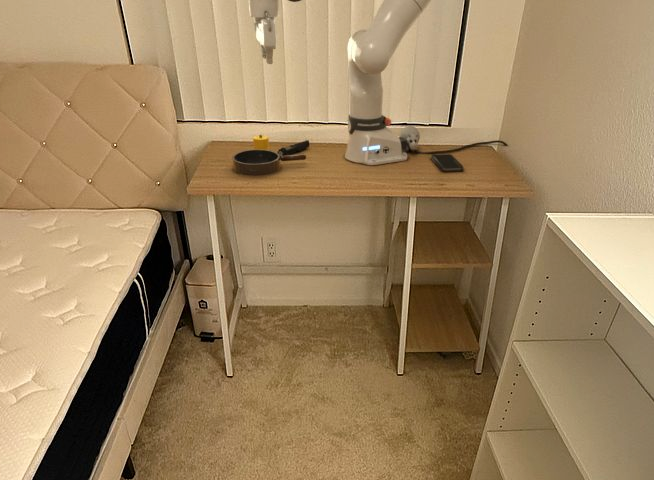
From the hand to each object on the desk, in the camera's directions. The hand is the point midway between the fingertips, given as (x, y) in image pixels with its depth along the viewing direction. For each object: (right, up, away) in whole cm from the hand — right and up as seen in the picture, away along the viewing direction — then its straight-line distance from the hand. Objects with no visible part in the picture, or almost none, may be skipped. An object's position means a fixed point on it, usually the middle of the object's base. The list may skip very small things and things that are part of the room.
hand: (267, 60), depth 177 cm
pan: (-5, -30, +11) cm, 33 cm away
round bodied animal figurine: (+48, -19, +28) cm, 59 cm away
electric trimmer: (+6, -20, +25) cm, 33 cm away
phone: (+60, -27, +18) cm, 68 cm away
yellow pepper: (-6, -20, +24) cm, 32 cm away
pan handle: (+7, -27, +13) cm, 31 cm away
